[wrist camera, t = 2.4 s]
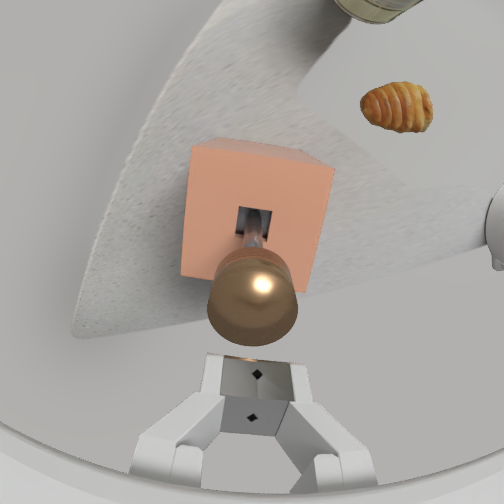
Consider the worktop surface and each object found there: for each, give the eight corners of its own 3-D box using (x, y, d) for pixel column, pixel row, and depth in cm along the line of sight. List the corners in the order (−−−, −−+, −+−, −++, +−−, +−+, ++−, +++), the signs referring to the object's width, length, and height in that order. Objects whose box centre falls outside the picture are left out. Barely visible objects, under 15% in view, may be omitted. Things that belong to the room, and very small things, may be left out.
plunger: (311, 176, 23) (373, 235, 11) (292, 267, 26) (319, 384, 14) (209, 160, 22) (159, 202, 10) (199, 254, 25) (158, 365, 13)
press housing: (301, 150, 35) (335, 169, 20) (286, 227, 39) (305, 292, 24) (218, 137, 35) (192, 146, 20) (208, 216, 39) (180, 275, 24)
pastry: (362, 135, 34) (373, 136, 31) (353, 83, 32) (364, 79, 28) (424, 131, 34) (439, 133, 30) (417, 83, 31) (432, 80, 28)
